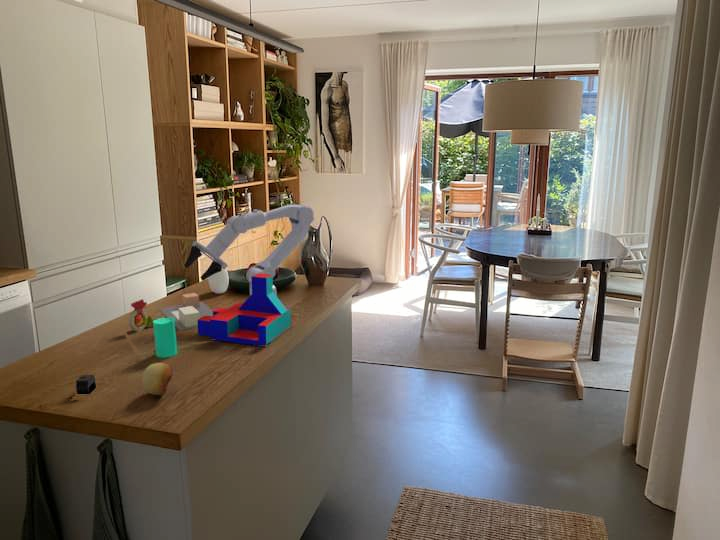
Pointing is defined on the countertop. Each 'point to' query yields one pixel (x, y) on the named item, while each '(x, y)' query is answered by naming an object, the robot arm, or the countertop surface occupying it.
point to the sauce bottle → (219, 281)
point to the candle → (165, 337)
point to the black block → (85, 384)
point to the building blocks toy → (249, 317)
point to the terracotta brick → (191, 300)
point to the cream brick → (188, 316)
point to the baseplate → (174, 314)
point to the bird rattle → (139, 321)
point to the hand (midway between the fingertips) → (193, 273)
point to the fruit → (157, 378)
